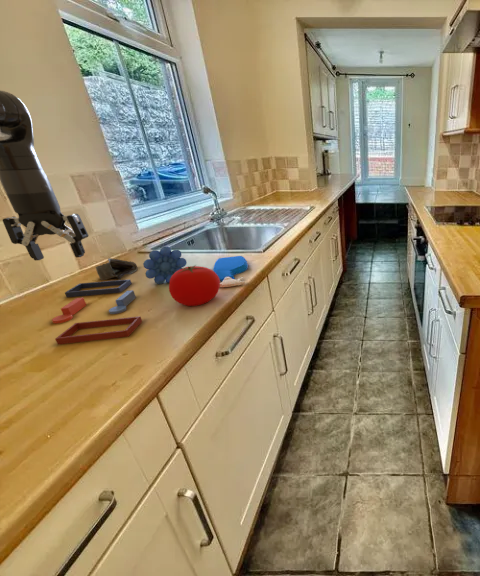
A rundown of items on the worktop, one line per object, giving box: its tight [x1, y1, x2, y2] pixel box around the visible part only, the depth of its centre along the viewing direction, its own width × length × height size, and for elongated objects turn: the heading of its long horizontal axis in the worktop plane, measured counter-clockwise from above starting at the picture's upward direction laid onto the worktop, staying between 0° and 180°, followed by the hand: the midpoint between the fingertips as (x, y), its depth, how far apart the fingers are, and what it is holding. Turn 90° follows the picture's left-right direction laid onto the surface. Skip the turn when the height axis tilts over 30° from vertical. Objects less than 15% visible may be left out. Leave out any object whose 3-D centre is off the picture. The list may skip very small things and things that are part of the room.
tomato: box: [168, 264, 221, 307], centre depth 87 cm, size 11×12×10 cm
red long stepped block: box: [51, 297, 87, 324], centre depth 81 cm, size 10×4×3 cm, turn 13°
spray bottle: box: [212, 255, 249, 288], centre depth 107 cm, size 3×11×24 cm
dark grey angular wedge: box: [95, 257, 139, 281], centre depth 106 cm, size 10×7×12 cm
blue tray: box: [64, 278, 132, 298], centre depth 95 cm, size 14×7×2 cm, turn 103°
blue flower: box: [142, 246, 187, 285], centre depth 100 cm, size 12×7×12 cm, turn 115°
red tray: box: [54, 315, 143, 345], centre depth 73 cm, size 14×7×2 cm, turn 103°
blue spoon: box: [108, 289, 137, 315], centre depth 86 cm, size 10×4×3 cm, turn 13°
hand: (60, 258), depth 79 cm, fingers open, 8 cm apart
